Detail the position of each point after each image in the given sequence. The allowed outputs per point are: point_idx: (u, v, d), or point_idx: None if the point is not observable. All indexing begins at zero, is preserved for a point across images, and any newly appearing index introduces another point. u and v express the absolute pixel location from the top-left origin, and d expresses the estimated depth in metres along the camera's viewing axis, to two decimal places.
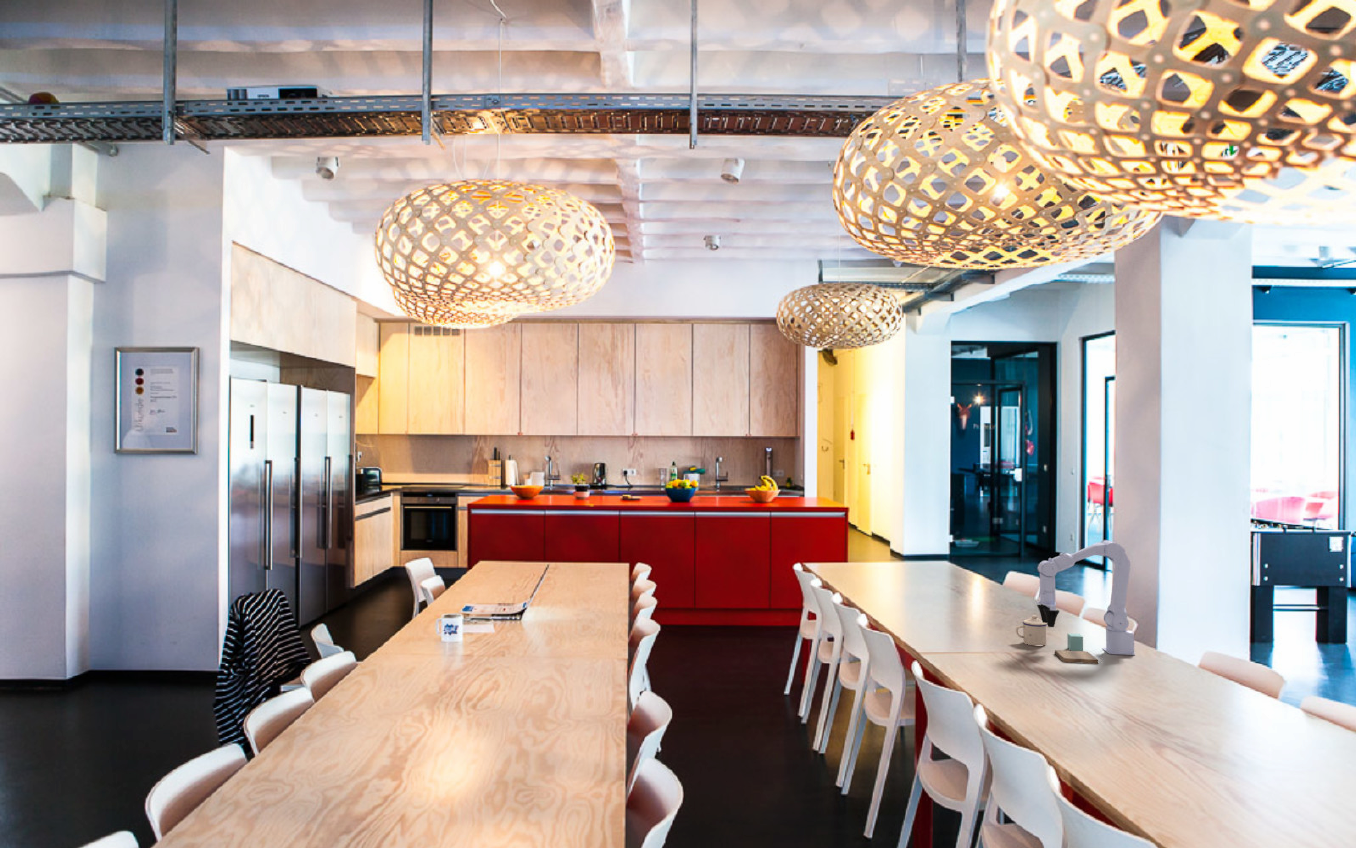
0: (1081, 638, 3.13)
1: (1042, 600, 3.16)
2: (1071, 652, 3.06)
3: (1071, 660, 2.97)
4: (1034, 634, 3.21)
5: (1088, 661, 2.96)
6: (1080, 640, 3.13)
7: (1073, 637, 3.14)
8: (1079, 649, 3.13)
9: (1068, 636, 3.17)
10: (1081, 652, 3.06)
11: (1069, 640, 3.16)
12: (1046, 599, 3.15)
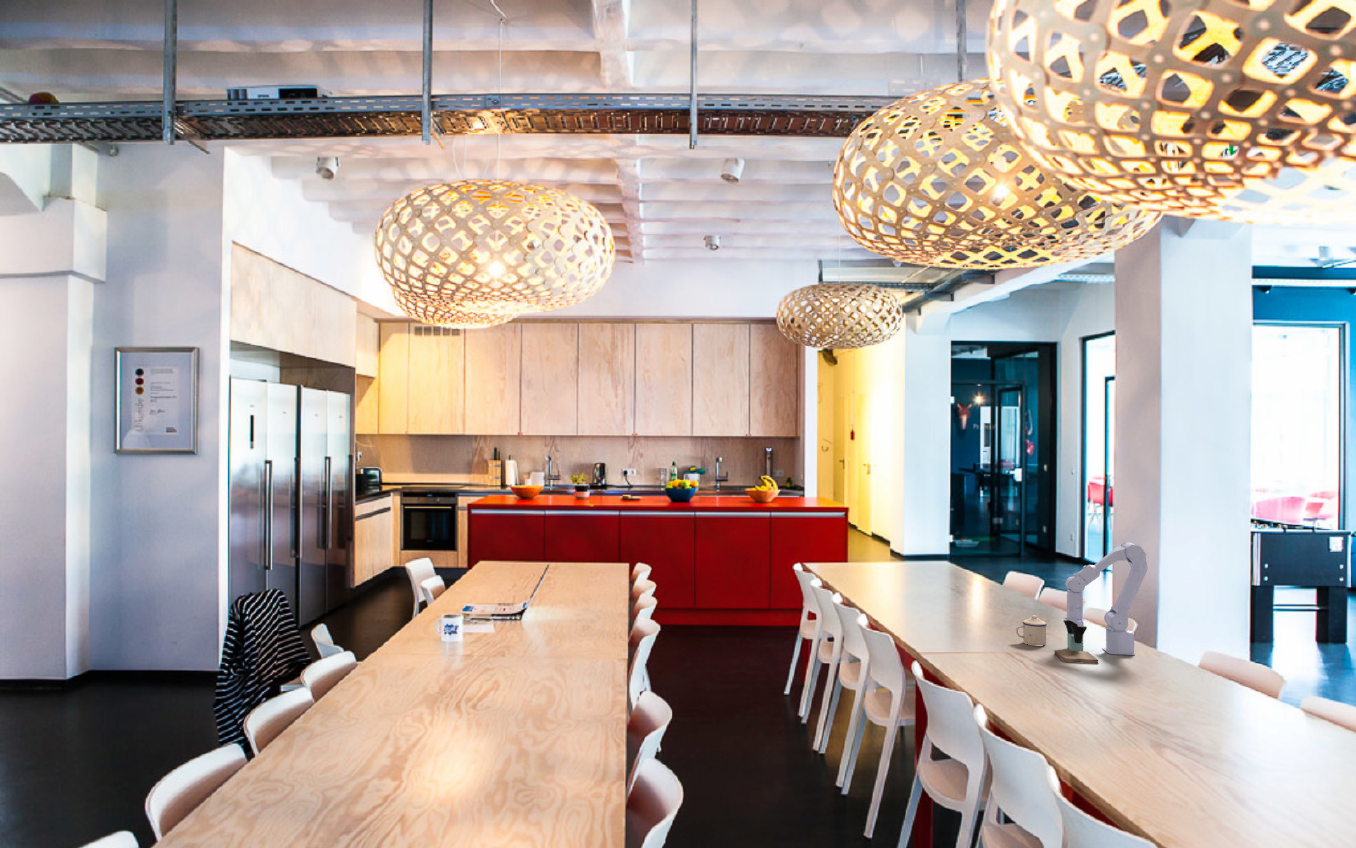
0: None
1: (1069, 616, 3.15)
2: (1071, 652, 3.06)
3: (1071, 660, 2.97)
4: (1034, 634, 3.21)
5: (1088, 661, 2.96)
6: None
7: (1073, 637, 3.14)
8: (1079, 649, 3.13)
9: (1068, 636, 3.17)
10: (1081, 652, 3.06)
11: (1069, 640, 3.16)
12: (1073, 615, 3.14)
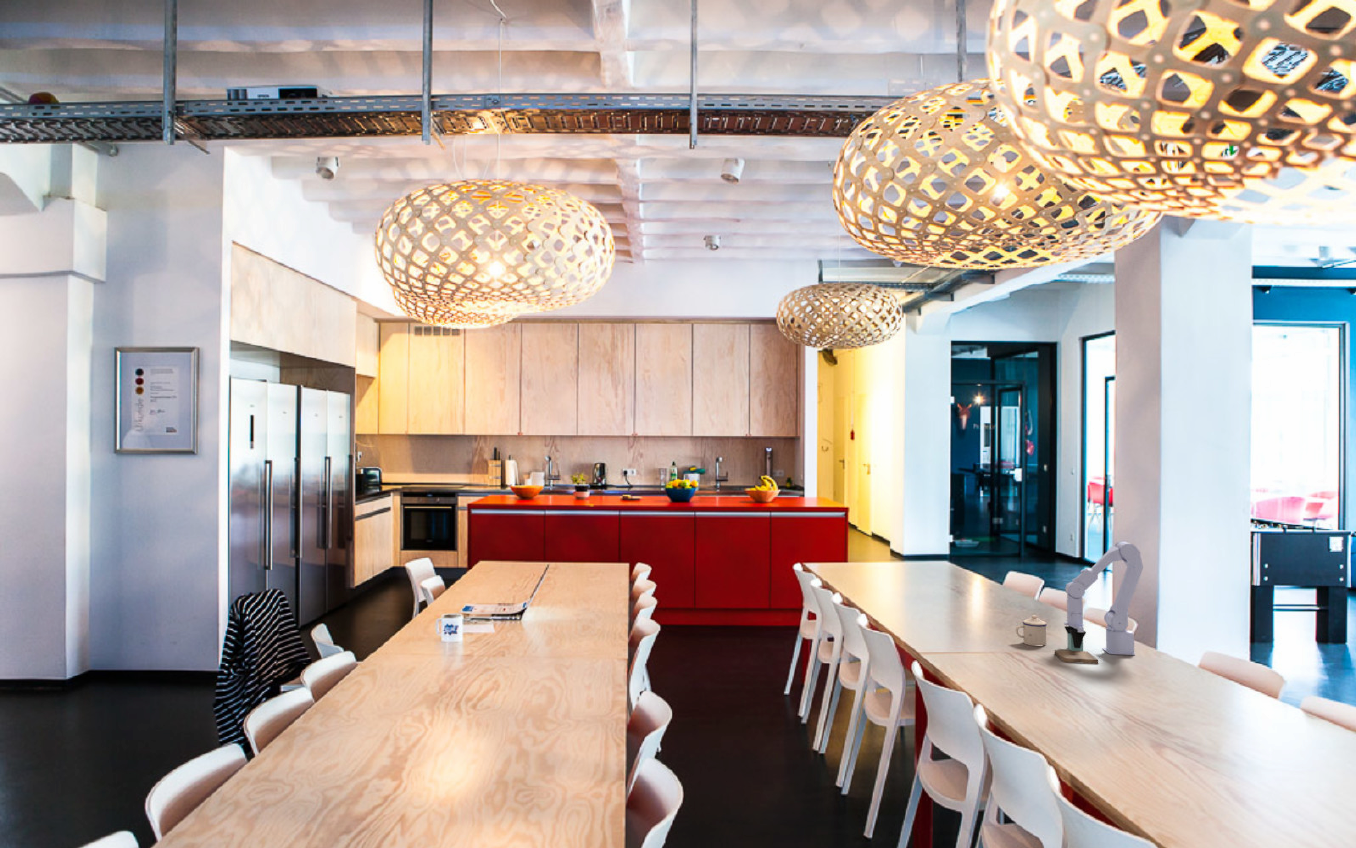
0: None
1: (1069, 621, 3.15)
2: (1071, 652, 3.06)
3: (1071, 660, 2.97)
4: (1034, 634, 3.21)
5: (1088, 661, 2.96)
6: None
7: None
8: (1079, 649, 3.13)
9: (1068, 636, 3.17)
10: (1081, 652, 3.06)
11: (1069, 640, 3.16)
12: (1073, 621, 3.14)
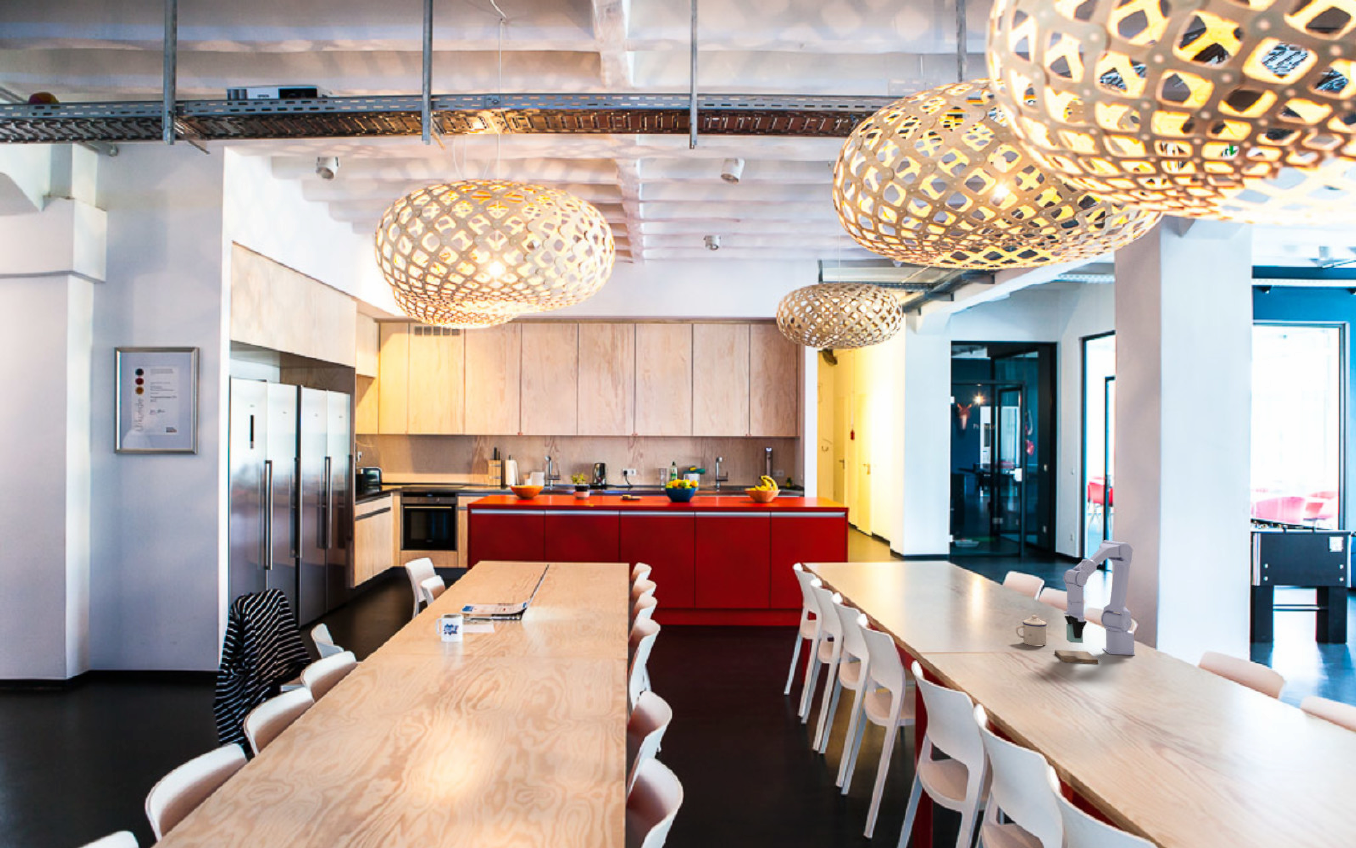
0: None
1: (1069, 611, 3.02)
2: (1071, 652, 3.06)
3: (1071, 660, 2.97)
4: (1034, 634, 3.21)
5: (1088, 661, 2.96)
6: None
7: (1072, 628, 3.01)
8: (1079, 640, 3.01)
9: (1067, 627, 3.04)
10: (1081, 652, 3.06)
11: (1068, 631, 3.03)
12: (1074, 610, 3.01)
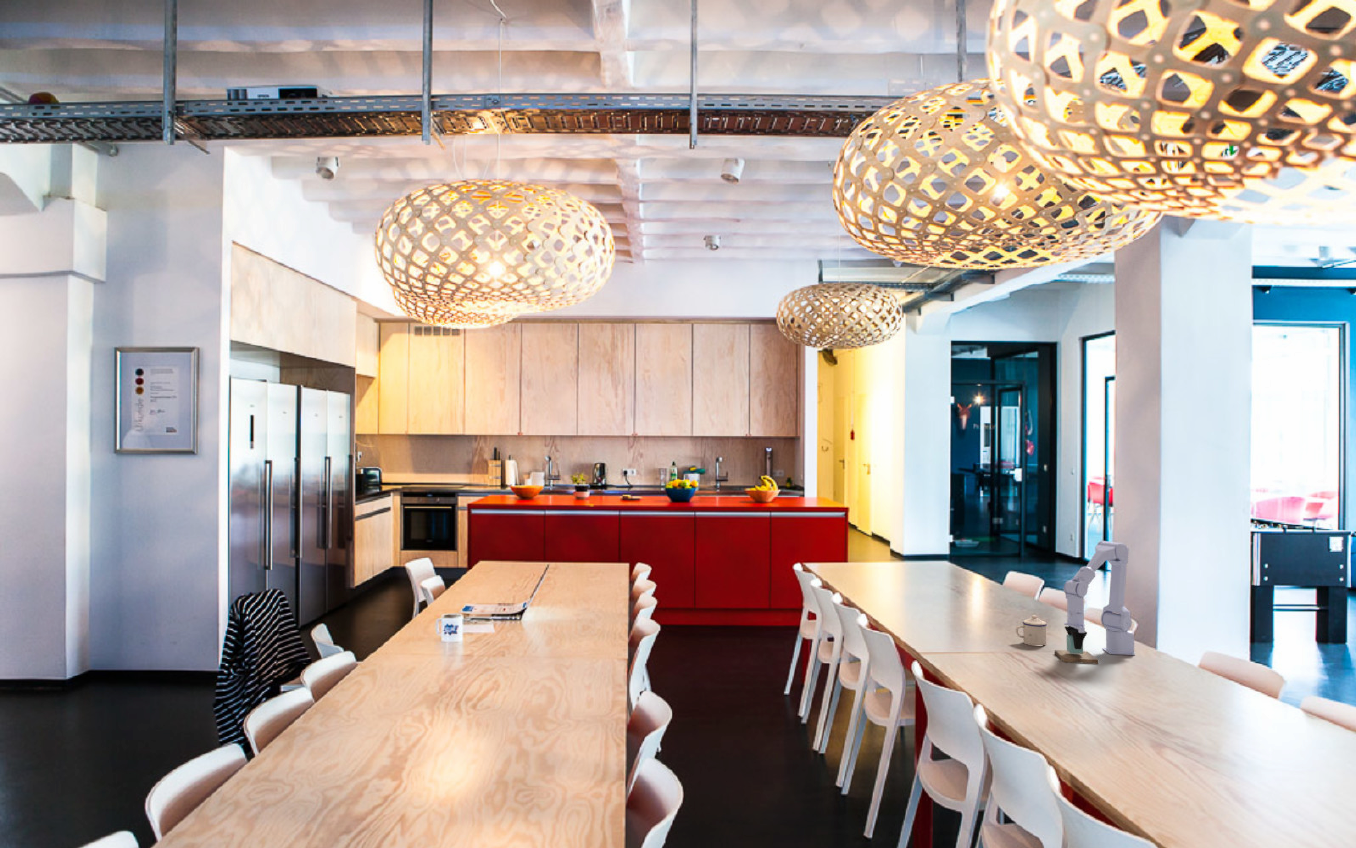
0: None
1: (1070, 621, 3.02)
2: None
3: (1071, 660, 2.97)
4: (1034, 634, 3.21)
5: (1088, 661, 2.96)
6: None
7: (1072, 638, 3.01)
8: (1079, 651, 3.00)
9: (1067, 637, 3.04)
10: None
11: (1068, 642, 3.03)
12: (1074, 621, 3.01)
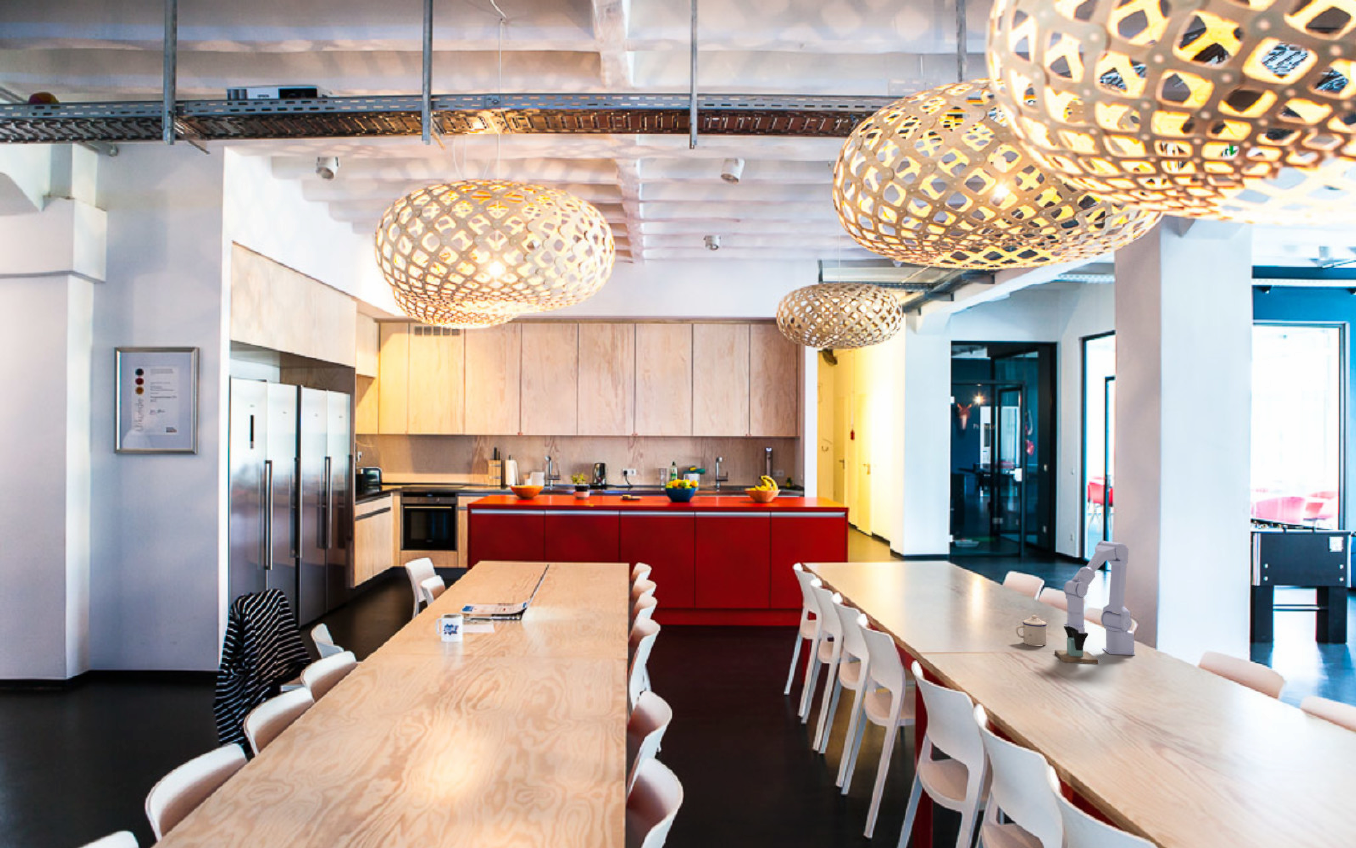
0: None
1: (1070, 622, 3.02)
2: None
3: (1071, 660, 2.97)
4: (1034, 634, 3.21)
5: (1088, 661, 2.96)
6: None
7: (1073, 641, 3.01)
8: (1079, 654, 3.00)
9: (1067, 640, 3.04)
10: None
11: (1069, 644, 3.03)
12: (1074, 621, 3.01)
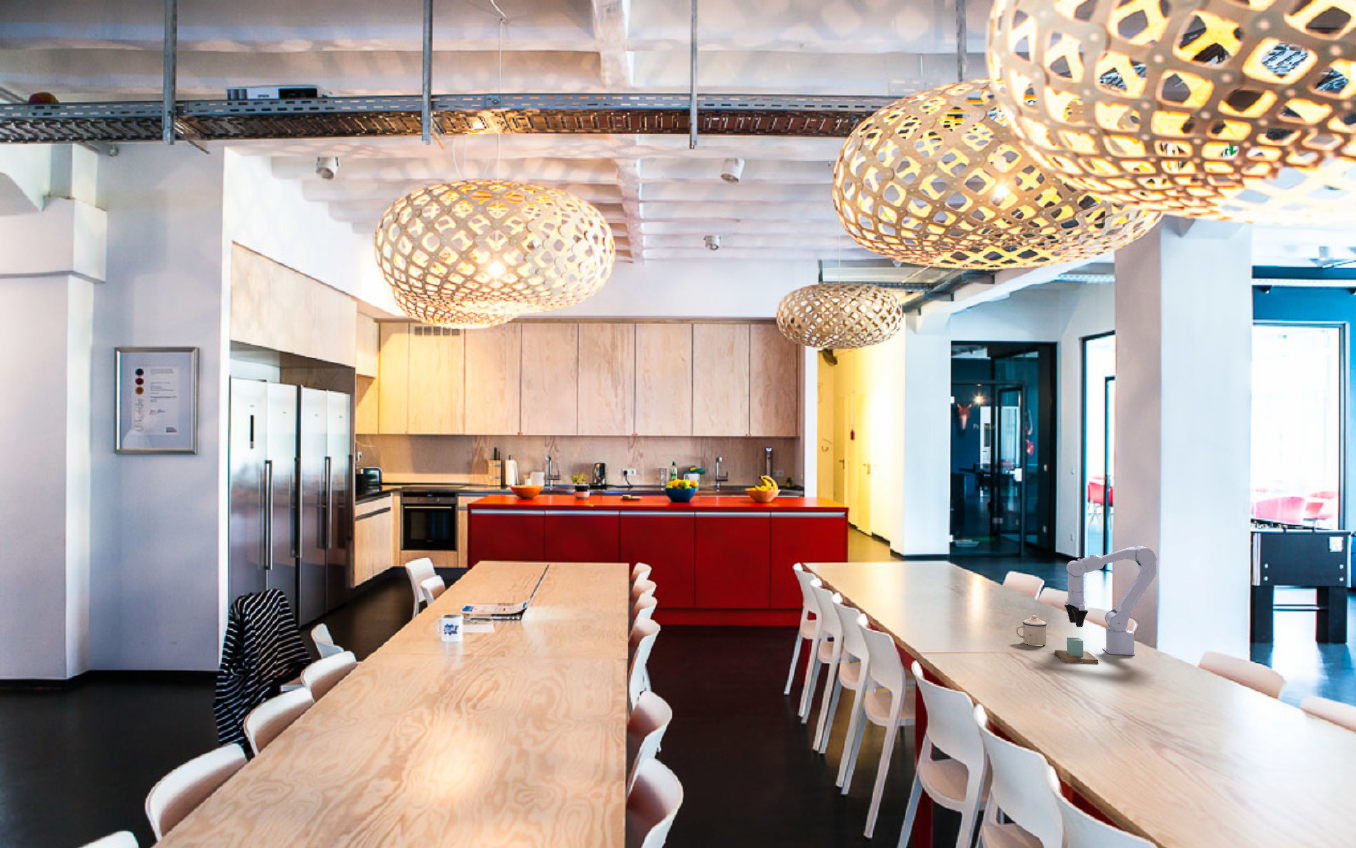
0: (1081, 642, 3.00)
1: (1070, 600, 3.16)
2: None
3: (1071, 660, 2.97)
4: (1034, 634, 3.21)
5: (1088, 661, 2.96)
6: (1080, 644, 3.00)
7: (1073, 641, 3.01)
8: (1079, 654, 3.00)
9: (1067, 640, 3.04)
10: None
11: (1069, 644, 3.03)
12: (1074, 599, 3.14)
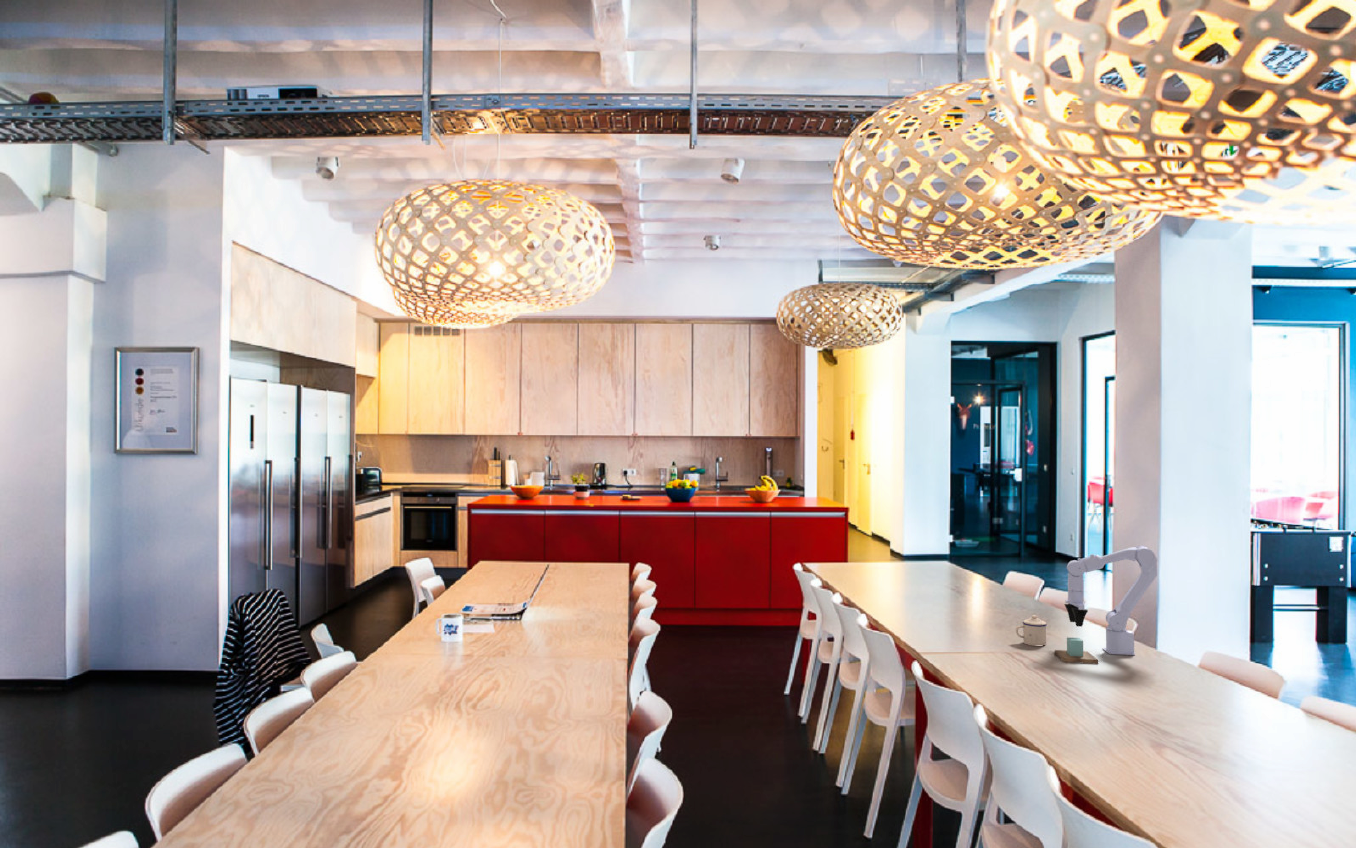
0: (1081, 642, 3.00)
1: (1070, 599, 3.17)
2: None
3: (1071, 660, 2.97)
4: (1034, 634, 3.21)
5: (1088, 661, 2.96)
6: (1080, 644, 3.00)
7: (1073, 641, 3.01)
8: (1079, 654, 3.00)
9: (1067, 640, 3.04)
10: None
11: (1069, 644, 3.03)
12: (1074, 599, 3.16)
